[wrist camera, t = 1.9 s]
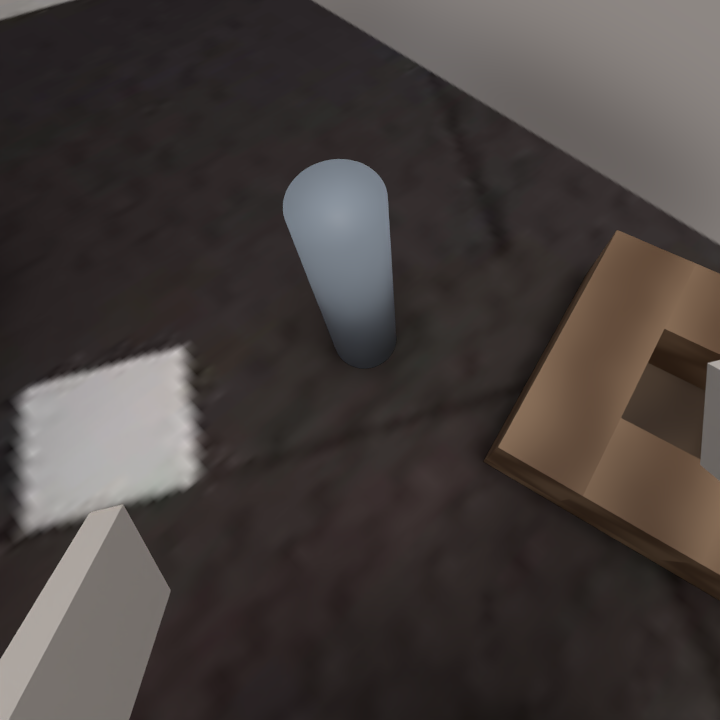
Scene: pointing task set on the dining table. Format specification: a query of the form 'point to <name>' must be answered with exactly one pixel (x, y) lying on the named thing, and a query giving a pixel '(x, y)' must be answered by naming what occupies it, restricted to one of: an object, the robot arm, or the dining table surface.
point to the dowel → (346, 255)
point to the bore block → (627, 409)
